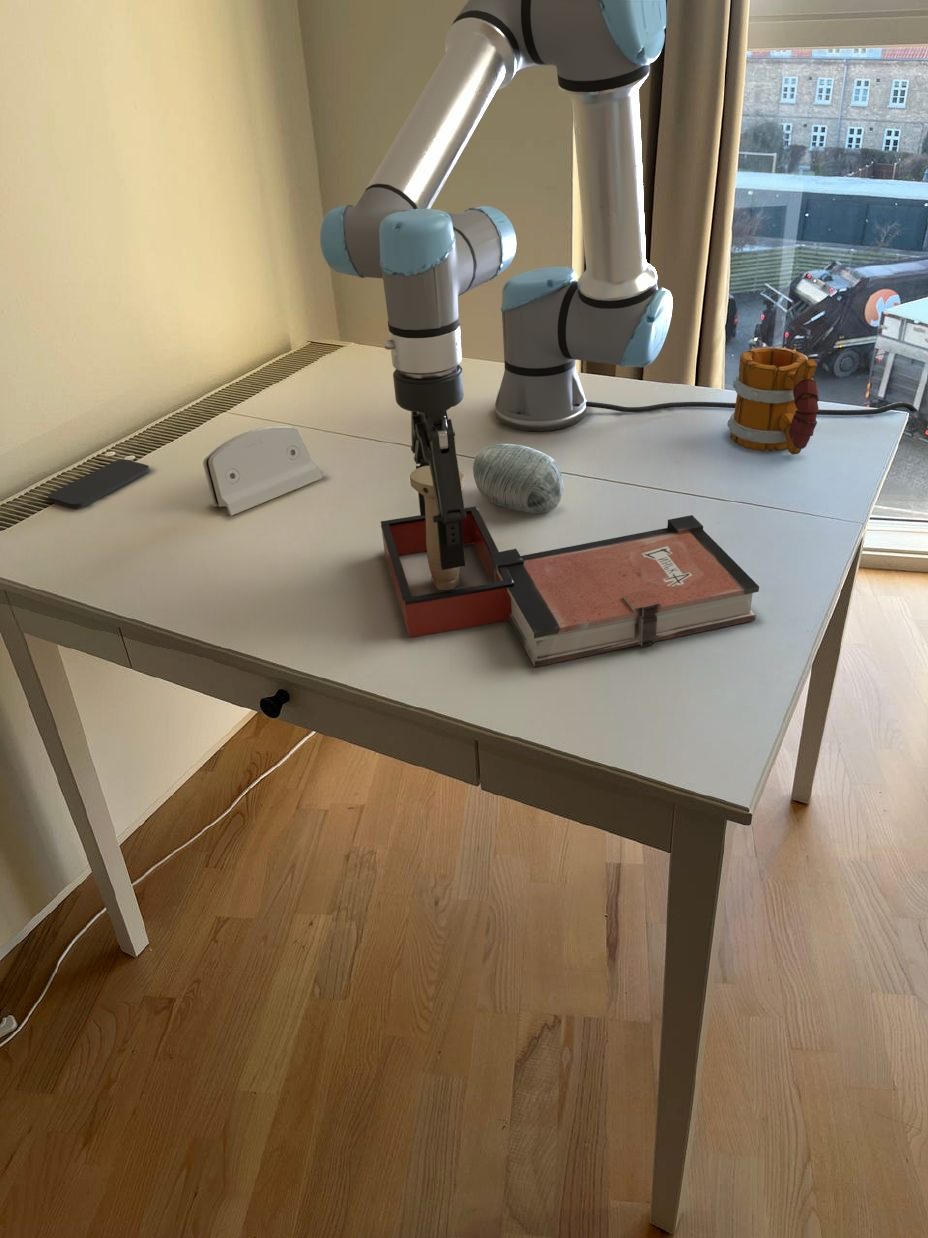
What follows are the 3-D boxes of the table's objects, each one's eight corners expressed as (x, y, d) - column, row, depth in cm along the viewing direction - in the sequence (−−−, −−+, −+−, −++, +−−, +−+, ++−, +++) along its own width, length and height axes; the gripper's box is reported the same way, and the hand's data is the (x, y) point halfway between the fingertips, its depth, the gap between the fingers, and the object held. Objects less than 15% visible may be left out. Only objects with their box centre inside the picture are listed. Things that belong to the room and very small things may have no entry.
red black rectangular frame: (478, 539, 128) (476, 505, 125) (516, 619, 112) (515, 583, 109) (384, 554, 126) (379, 521, 123) (408, 638, 110) (404, 602, 107)
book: (536, 671, 103) (535, 633, 100) (492, 588, 117) (490, 553, 114) (758, 623, 108) (763, 586, 105) (689, 549, 122) (692, 515, 119)
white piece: (229, 516, 137) (203, 449, 134) (216, 516, 141) (190, 451, 138) (324, 477, 146) (302, 413, 143) (309, 478, 150) (288, 416, 147)
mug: (773, 418, 154) (784, 325, 145) (837, 457, 141) (854, 358, 132) (713, 430, 151) (722, 337, 143) (773, 472, 138) (786, 371, 130)
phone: (152, 465, 152) (76, 505, 142) (153, 470, 152) (78, 510, 142) (120, 457, 155) (44, 496, 145) (121, 462, 156) (45, 500, 145)
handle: (435, 569, 122) (425, 462, 113) (478, 582, 119) (471, 472, 110) (414, 588, 119) (402, 478, 110) (457, 601, 116) (448, 489, 107)
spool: (587, 480, 132) (552, 429, 126) (551, 533, 130) (514, 483, 124) (520, 474, 143) (485, 427, 137) (486, 523, 140) (448, 476, 134)
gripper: (376, 336, 113) (395, 498, 125) (412, 413, 92) (430, 597, 104) (439, 328, 114) (451, 489, 126) (487, 402, 93) (496, 586, 105)
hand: (441, 538), depth 115 cm, fingers open, 13 cm apart
